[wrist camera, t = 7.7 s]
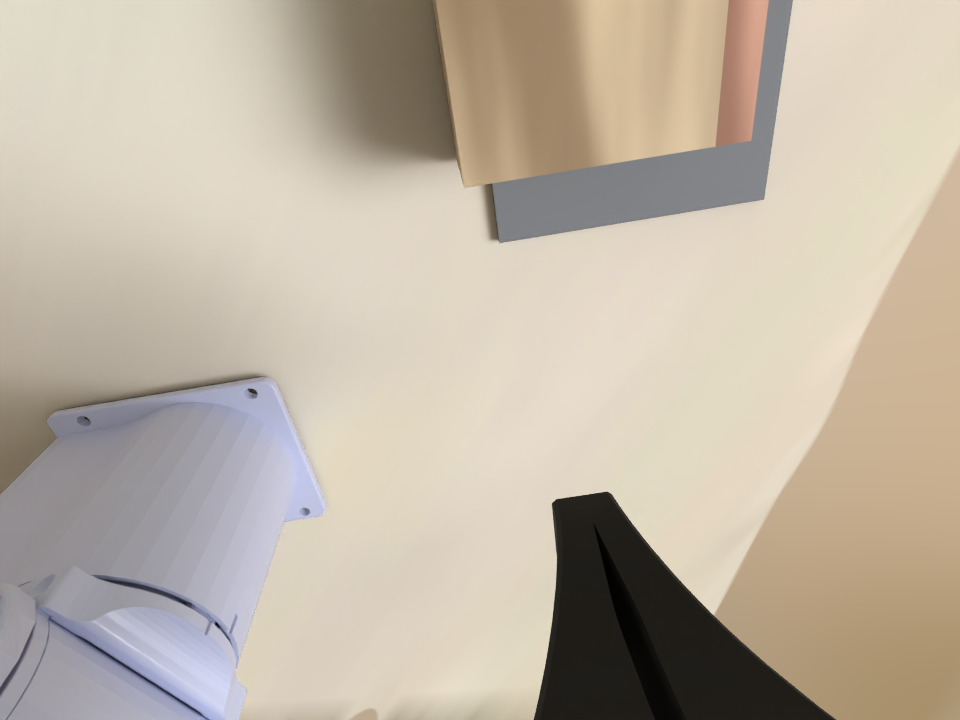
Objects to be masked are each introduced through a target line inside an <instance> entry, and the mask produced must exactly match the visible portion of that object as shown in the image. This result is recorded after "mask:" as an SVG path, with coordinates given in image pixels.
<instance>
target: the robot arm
mask: <svg viewBox="0 0 960 720" xmlns="http://www.w3.org/2000/svg"><path fill="white" fill-rule="evenodd" d="M248 388H250V389H254V390H256V391H257V394H253V393H251V392H249V391H248ZM83 416H84V417H87V418H88V419H89V420H87V419H85V418H84V417H83ZM47 424H48V426H49V427H50V429H51V430H52V432H53V433H54V434H55V436H56V437H57V439H56V440H55V441H54V442H53V443H52V444H51V445H50V446H48V447H47V448H46V449H45V450H44V451H43V452H42V453H41V454H40V455H39V456H38V457H37V458H36V459H35V460H34V461H33V462H32V463H31V464H30V465H29V466H28V467H27V468H26V469H25V470H24V471H23V472H22V473H21V474H20V475H19V476H18V477H17V478H16V479H15V480H14V481H13V482H12V483H11V484H10V485H9V486H8V487H7V488H6V489H5V490H4V491H3V492H2V493H1V494H0V720H239V717H240V713H241V710H242V706H243V703H244V700H245V696H246V693H247V690H246V688H245V687H244V686H242V685H241V684H240V683H239V681H238V679H237V677H236V669H237V666H238V663H239V660H240V657H241V654H242V651H243V647H244V644H245V641H246V638H247V635H248V632H249V629H250V626H251V623H252V619H253V616H254V613H255V610H256V607H257V604H258V601H259V598H260V595H261V592H262V588H263V585H264V582H265V579H266V576H267V573H268V570H269V567H270V564H271V560H272V557H273V554H274V551H275V548H276V545H277V542H278V539H279V536H280V533H281V529H282V526H283V523H284V522H288V521H294V520H300V519H306V518H312V517H318V516H321V515H323V514H324V513H325V511H326V507H327V505H326V501H325V499H324V496H323V494H322V492H321V489H320V487H319V484H318V482H317V480H316V477H315V475H314V472H313V470H312V468H311V465H310V463H309V460H308V458H307V456H306V453H305V451H304V448H303V446H302V444H301V441H300V439H299V436H298V434H297V432H296V429H295V427H294V424H293V422H292V420H291V417H290V415H289V412H288V410H287V408H286V405H285V403H284V400H283V398H282V396H281V393H280V391H279V388H278V386H277V384H276V383H275V381H273V380H272V379H270V378H267V377H259V378H253V379H247V380H241V381H235V382H229V383H223V384H217V385H211V386H205V387H199V388H193V389H187V390H181V391H175V392H168V393H162V394H156V395H150V396H144V397H138V398H132V399H126V400H120V401H114V402H108V403H102V404H96V405H90V406H84V407H77V408H71V409H65V410H59V411H56V412H54V413H53V414H52V415H51V416H50V417H49V418H48V419H47ZM303 508H307V509H303ZM552 509H553V520H554V530H555V541H556V551H557V577H556V591H555V601H554V610H553V620H552V627H551V634H550V641H549V647H548V653H547V659H546V665H545V670H544V675H543V680H542V685H541V690H540V695H539V700H538V704H537V708H536V713H535V717H534V720H836V719H834V718H833V717H832V716H830V715H829V714H828V713H827V712H825V711H824V710H823V709H821V708H820V707H819V706H817V705H816V704H815V703H814V702H812V701H811V700H810V699H809V698H807V697H806V696H805V695H804V694H803V693H801V692H800V691H799V690H798V689H796V688H795V687H794V686H793V685H792V684H790V683H789V682H788V681H787V680H785V679H784V678H783V677H782V676H780V675H779V674H778V673H777V672H776V671H774V670H773V669H772V668H770V667H769V666H768V665H767V664H766V663H765V662H764V661H762V660H761V659H760V658H759V657H758V656H757V655H756V654H754V653H753V652H752V651H751V650H750V649H749V648H748V647H747V646H746V645H744V644H743V643H742V642H741V641H740V640H739V639H738V638H737V637H736V636H735V635H733V634H732V633H731V632H730V631H729V630H728V629H727V628H726V627H725V626H724V625H723V624H722V623H721V622H720V621H719V620H718V619H717V618H716V617H715V616H714V615H713V614H711V613H710V612H709V611H708V609H707V608H706V607H705V606H704V605H703V604H702V603H701V602H700V601H699V600H698V599H697V598H696V597H695V596H694V595H693V594H692V593H691V592H690V591H689V590H688V589H687V588H686V587H685V586H684V585H683V583H682V582H681V581H680V580H679V579H678V578H677V577H676V576H675V575H674V574H673V572H672V571H671V570H670V569H669V568H668V567H667V566H666V564H665V563H664V562H663V561H662V560H661V559H660V557H659V556H658V555H657V554H656V553H655V552H654V550H653V549H652V548H651V547H650V546H649V544H648V543H647V542H646V541H645V539H644V538H643V537H642V536H641V534H640V533H639V532H638V530H637V529H636V528H635V527H634V525H633V524H632V523H631V521H630V520H629V519H628V517H627V516H626V515H625V513H624V512H623V510H622V509H621V507H620V506H619V505H618V503H617V502H616V500H615V499H614V497H613V495H612V494H610V493H609V492H602V493H595V494H589V495H582V496H576V497H569V498H563V499H556V500H555V501H554V502H553V503H552Z"/></svg>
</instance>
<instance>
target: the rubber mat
mask: <svg viewBox="0 0 960 720" xmlns="http://www.w3.org/2000/svg"><path fill="white" fill-rule="evenodd" d="M792 2H793V0H769V2H768V10H767V19H766V27H765V35H764V43H763V51H762V59H761V67H760V75H759V83H758V91H757V99H756V107H755V115H754V123H753V131H752V139H751V141H747V142H741V143H735V144H728V145H722V146H716V147H710V148H704V149H698V150H692V151H686V152H680V153H674V154H668V155H662V156H656V157H650V158H643V159H637V160H631V161H625V162H619V163H613V164H607V165H601V166H595V167H589V168H583V169H577V170H571V171H565V172H558V173H552V174H546V175H540V176H534V177H528V178H522V179H516V180H510V181H504V182H498V183H492V190H493V198H494V206H495V214H496V222H497V230H498V238H499V242H500V243H503V242H509V241H515V240H521V239H527V238H533V237H539V236H545V235H551V234H557V233H564V232H570V231H576V230H582V229H588V228H594V227H600V226H606V225H612V224H618V223H624V222H630V221H636V220H642V219H649V218H655V217H661V216H667V215H673V214H679V213H685V212H691V211H697V210H703V209H709V208H715V207H721V206H727V205H734V204H740V203H746V202H752V201H758V200H764V196H765V189H766V182H767V175H768V168H769V161H770V154H771V147H772V140H773V133H774V126H775V120H776V113H777V106H778V99H779V92H780V85H781V78H782V71H783V64H784V57H785V50H786V43H787V36H788V30H789V23H790V16H791V9H792Z"/></svg>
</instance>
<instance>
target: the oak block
mask: <svg viewBox="0 0 960 720" xmlns="http://www.w3.org/2000/svg"><path fill="white" fill-rule="evenodd" d="M432 1H433V7H434V14H435V20H436V26H437V33H438V39H439V46H440V52H441V59H442V65H443V72H444V78H445V85H446V91H447V98H448V104H449V110H450V117H451V123H452V130H453V136H454V143H455V149H456V156H457V162H458V166H459V170H460V174H461V177H462V181H463V185H464V188H467V187H473V186H480V185H486V184H492V183H498V182H504V181H510V180H516V179H522V178H528V177H534V176H540V175H546V174H552V173H558V172H565V171H571V170H577V169H583V168H589V167H595V166H601V165H607V164H613V163H619V162H625V161H631V160H637V159H643V158H650V157H656V156H662V155H668V154H674V153H680V152H686V151H692V150H698V149H704V148H710V147H716V146H722V145H728V144H735V143H741V142H747V141H751V139H752V131H753V123H754V115H755V107H756V99H757V91H758V83H759V75H760V67H761V59H762V51H763V43H764V35H765V27H766V19H767V10H768V2H769V0H432Z"/></svg>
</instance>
